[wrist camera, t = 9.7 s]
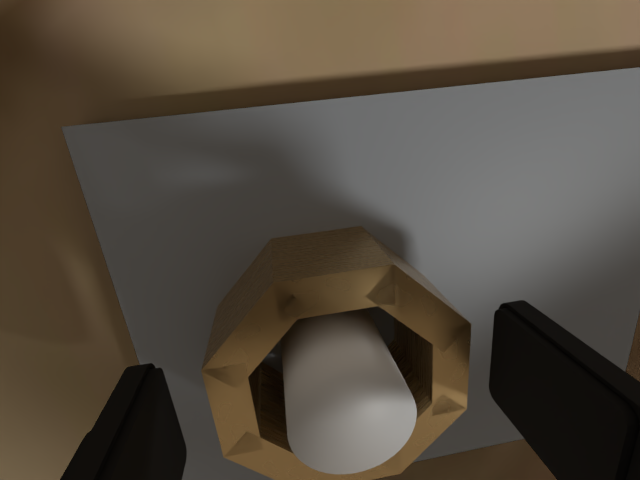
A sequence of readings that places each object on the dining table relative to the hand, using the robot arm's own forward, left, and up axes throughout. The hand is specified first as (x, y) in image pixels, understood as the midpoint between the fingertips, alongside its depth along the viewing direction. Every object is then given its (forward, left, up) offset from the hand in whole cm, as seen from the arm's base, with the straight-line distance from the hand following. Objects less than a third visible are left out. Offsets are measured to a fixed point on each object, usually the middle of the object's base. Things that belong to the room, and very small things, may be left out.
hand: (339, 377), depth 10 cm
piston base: (-3, 0, -3) cm, 5 cm away
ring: (0, 0, -2) cm, 2 cm away
